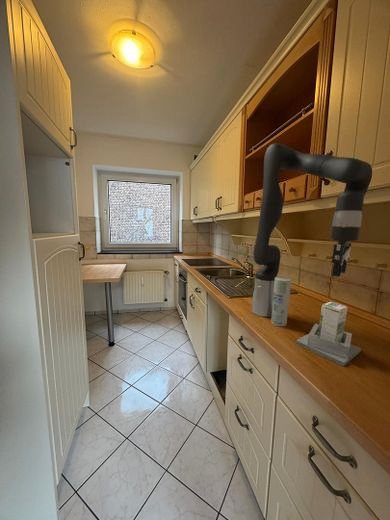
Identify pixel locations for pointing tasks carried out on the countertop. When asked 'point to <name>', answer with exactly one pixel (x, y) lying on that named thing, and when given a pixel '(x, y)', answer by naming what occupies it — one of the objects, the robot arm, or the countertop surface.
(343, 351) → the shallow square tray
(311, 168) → the robot arm
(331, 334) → the syrup box
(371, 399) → the countertop surface
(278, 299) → the spray can
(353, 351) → the board
